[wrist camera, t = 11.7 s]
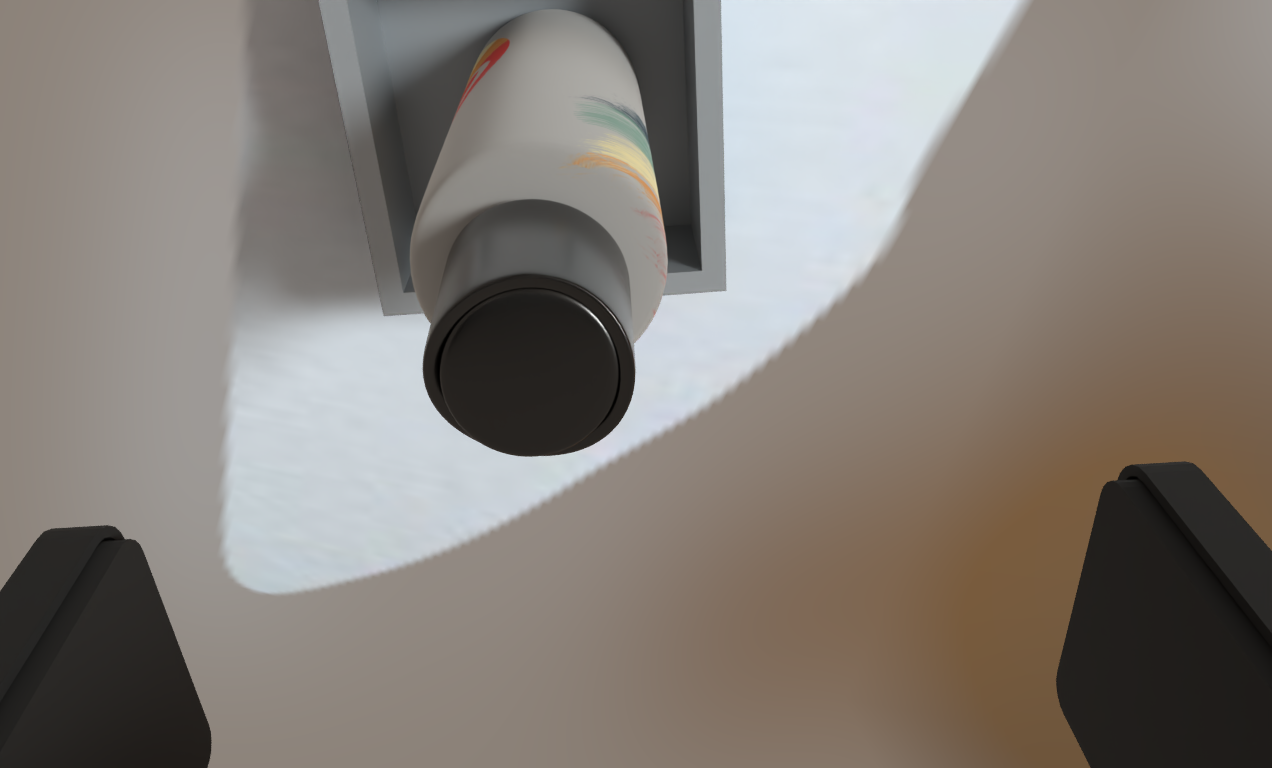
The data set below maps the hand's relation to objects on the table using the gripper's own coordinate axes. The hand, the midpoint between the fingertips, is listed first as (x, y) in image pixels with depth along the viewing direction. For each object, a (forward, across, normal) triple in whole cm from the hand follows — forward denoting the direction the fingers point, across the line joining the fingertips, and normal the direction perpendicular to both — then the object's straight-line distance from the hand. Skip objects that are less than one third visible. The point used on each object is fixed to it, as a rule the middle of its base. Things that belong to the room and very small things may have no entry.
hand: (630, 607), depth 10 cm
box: (+29, +2, +3) cm, 29 cm away
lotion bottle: (+28, +2, +2) cm, 28 cm away
